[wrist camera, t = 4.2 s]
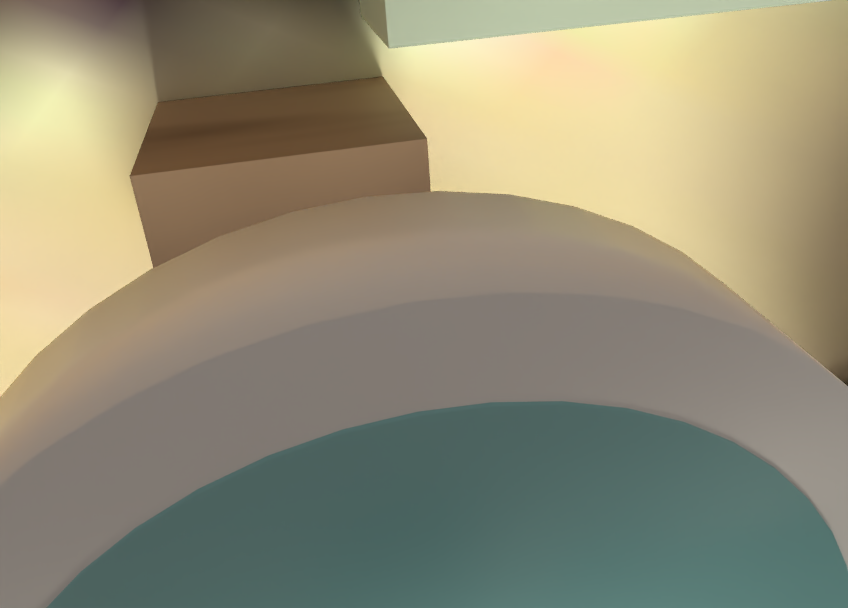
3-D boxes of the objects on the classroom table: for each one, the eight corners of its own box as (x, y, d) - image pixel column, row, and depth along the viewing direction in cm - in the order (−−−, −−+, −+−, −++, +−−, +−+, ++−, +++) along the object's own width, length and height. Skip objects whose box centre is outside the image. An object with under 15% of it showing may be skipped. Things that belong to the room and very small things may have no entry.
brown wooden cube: (400, 272, 20) (442, 377, 16) (203, 301, 20) (192, 419, 15) (382, 76, 18) (426, 138, 14) (157, 102, 17) (129, 175, 13)
